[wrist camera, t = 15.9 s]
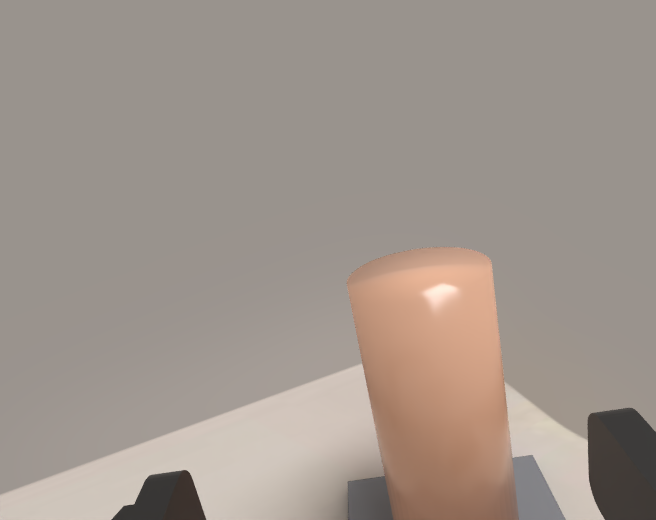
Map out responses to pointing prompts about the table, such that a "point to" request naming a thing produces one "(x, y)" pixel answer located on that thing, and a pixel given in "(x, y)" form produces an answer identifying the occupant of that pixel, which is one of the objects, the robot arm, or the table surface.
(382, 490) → the mat
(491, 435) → the peach cup
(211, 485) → the table surface
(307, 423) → the table surface
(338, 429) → the table surface
